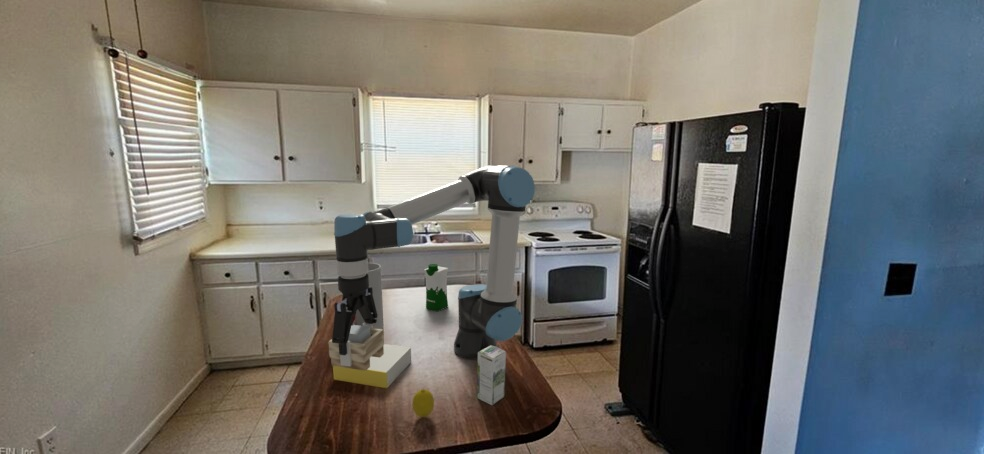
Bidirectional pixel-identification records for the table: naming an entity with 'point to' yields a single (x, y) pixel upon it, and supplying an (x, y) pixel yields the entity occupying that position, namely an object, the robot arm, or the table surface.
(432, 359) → the table surface
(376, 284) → the cylinder vase
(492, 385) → the syrup box
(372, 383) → the dock
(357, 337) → the cargo block
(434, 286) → the milk carton
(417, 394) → the lemon
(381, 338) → the wooden crate with cube
